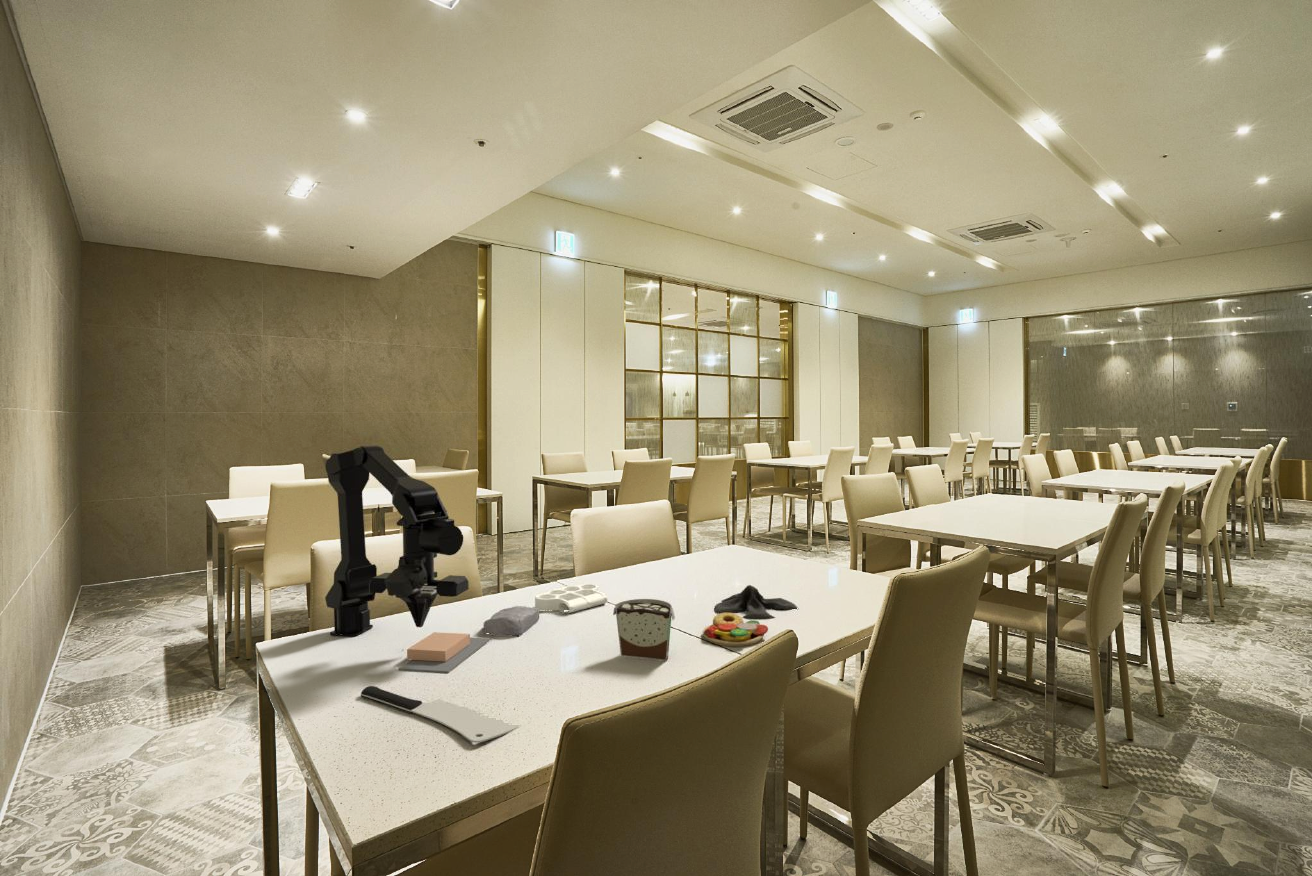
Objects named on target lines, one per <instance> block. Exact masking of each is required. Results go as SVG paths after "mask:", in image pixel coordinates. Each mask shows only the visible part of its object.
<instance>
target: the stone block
mask: <svg viewBox="0 0 1312 876" xmlns="http://www.w3.org/2000/svg"><path fill="white" fill-rule="evenodd" d="M539 620H540V611H539V609H538V608H535V607H532V606H531V607H530V606H525V605H523V606H522V605H516V606H512V607H507V608H503V609H500V610H499V611H497V612H495V613H494V614H492V616H491V617H490V618H489V619H487V620H484V621H483V630H484V632H485V634H486V633H489V634H493V635H492V636H510V635H513V636H515V635H520V636H523V635H524V634H525V633H526V632H527V631H528V630H529V629H530V628H532V627H533V626H534V625H536V624H537V623H538V622H539ZM523 633H524V634H523ZM489 634H488V635H489Z"/></svg>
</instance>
